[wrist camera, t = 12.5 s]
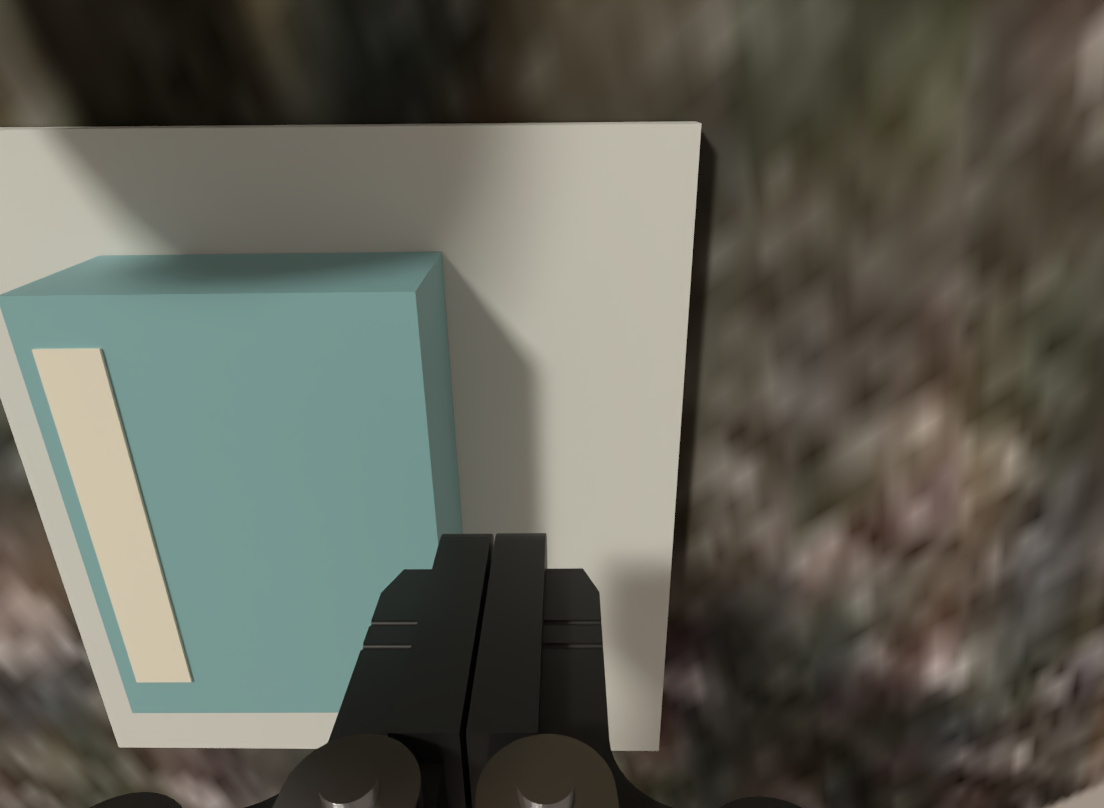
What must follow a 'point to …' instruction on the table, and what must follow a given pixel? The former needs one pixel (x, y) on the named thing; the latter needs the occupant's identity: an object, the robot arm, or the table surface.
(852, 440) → the table surface
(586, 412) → the mat
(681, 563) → the table surface
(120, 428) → the box
